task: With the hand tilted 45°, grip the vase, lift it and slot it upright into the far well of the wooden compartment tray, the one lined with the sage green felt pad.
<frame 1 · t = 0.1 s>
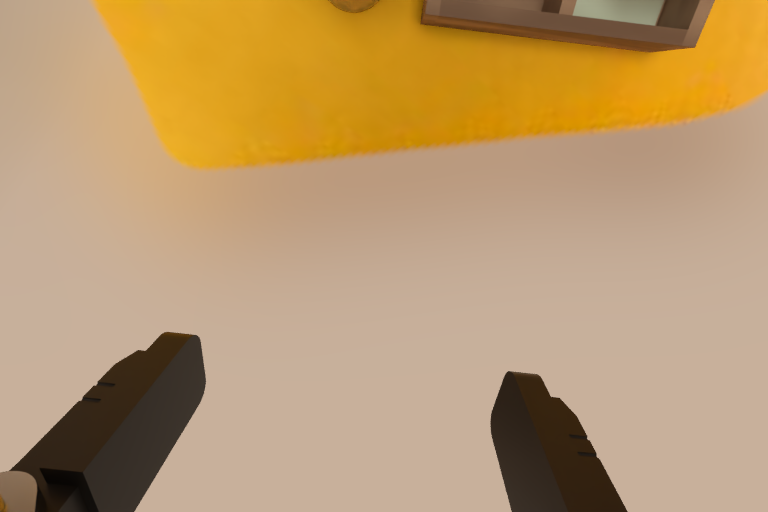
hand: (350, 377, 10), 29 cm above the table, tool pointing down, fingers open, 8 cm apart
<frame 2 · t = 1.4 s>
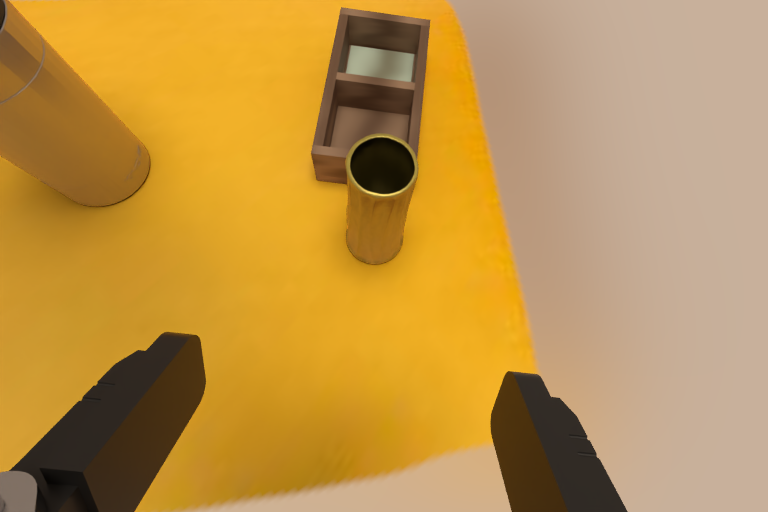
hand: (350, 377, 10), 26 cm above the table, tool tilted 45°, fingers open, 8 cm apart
vase: (374, 238, 39), on the table
wooden compartment tray: (373, 114, 44), on the table
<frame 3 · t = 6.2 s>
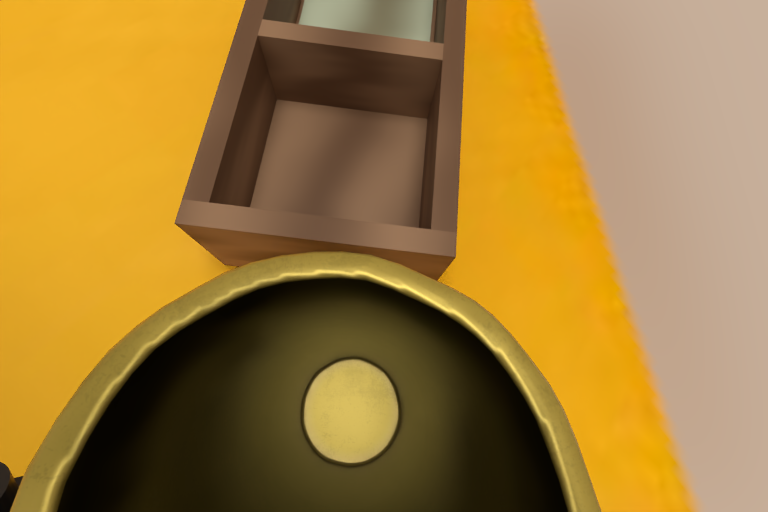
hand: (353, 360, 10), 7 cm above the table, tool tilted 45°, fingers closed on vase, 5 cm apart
vase: (351, 407, 17), on the table, touching gripper
wooden compartment tray: (354, 116, 22), on the table
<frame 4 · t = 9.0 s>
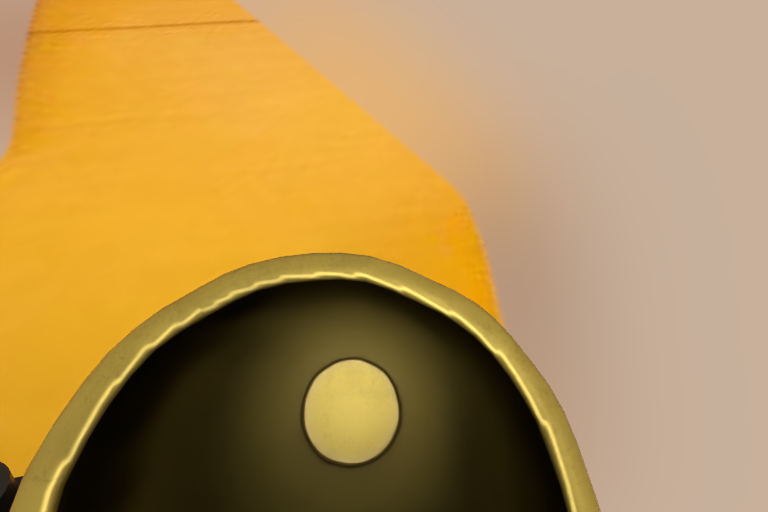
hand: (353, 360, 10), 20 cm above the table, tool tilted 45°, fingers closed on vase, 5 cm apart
vase: (351, 408, 17), point 12 cm above the table, touching gripper
when the fingers open (10 cm above the table, at t = 12.0 s): vase drops 1 cm, resting on wooden compartment tray.
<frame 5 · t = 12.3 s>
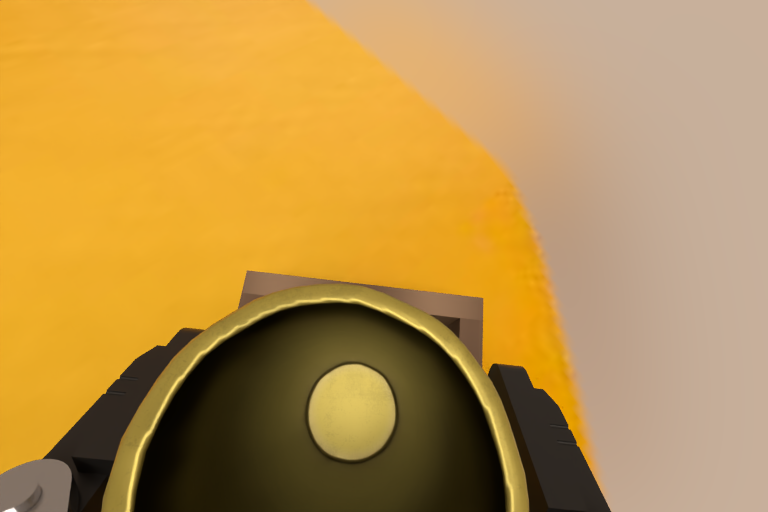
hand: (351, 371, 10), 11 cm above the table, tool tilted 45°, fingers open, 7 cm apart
vase: (352, 409, 18), point 1 cm above the table, touching wooden compartment tray
wooden compartment tray: (340, 507, 18), on the table
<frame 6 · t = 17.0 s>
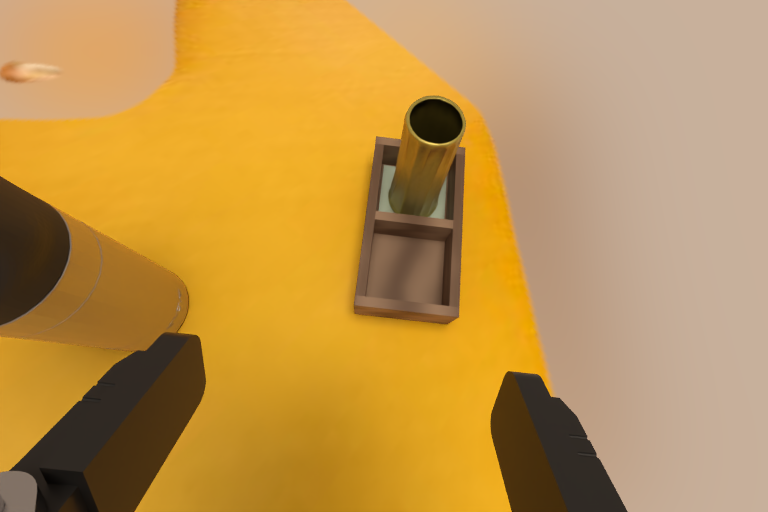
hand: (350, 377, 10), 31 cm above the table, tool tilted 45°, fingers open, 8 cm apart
vase: (412, 199, 44), point 1 cm above the table, touching wooden compartment tray
wooden compartment tray: (408, 237, 44), on the table
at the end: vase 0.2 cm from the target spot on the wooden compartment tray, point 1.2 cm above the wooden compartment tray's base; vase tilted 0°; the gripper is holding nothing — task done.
